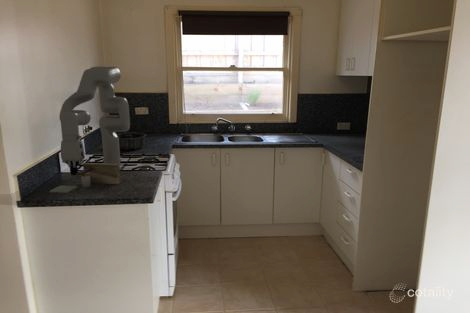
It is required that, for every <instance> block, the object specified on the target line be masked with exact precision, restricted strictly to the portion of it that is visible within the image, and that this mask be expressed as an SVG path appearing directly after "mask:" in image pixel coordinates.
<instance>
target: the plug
mask: <svg viewBox="0 0 470 313" xmlns="http://www.w3.org/2000/svg"><path fill="white" fill-rule="evenodd" d="M80 176H81V187H82V188H90V187H91V186H92V185H91V184H92V183H90V172H86V173H85V174H83V175H80Z"/></svg>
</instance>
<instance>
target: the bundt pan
mask: <svg viewBox="0 0 470 313" xmlns="http://www.w3.org/2000/svg"><path fill="white" fill-rule="evenodd" d="M116 134H117V136H118V138H119V149H120V151H121V150H122V151H123V149H124V150H125V151H128V150H129V151H132V150H137V149H138V150H139V149H141V148H143V147H144V145H145V143H146V137H147V134H145V133H144V132H143V133H141V132H118V133H116Z"/></svg>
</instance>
